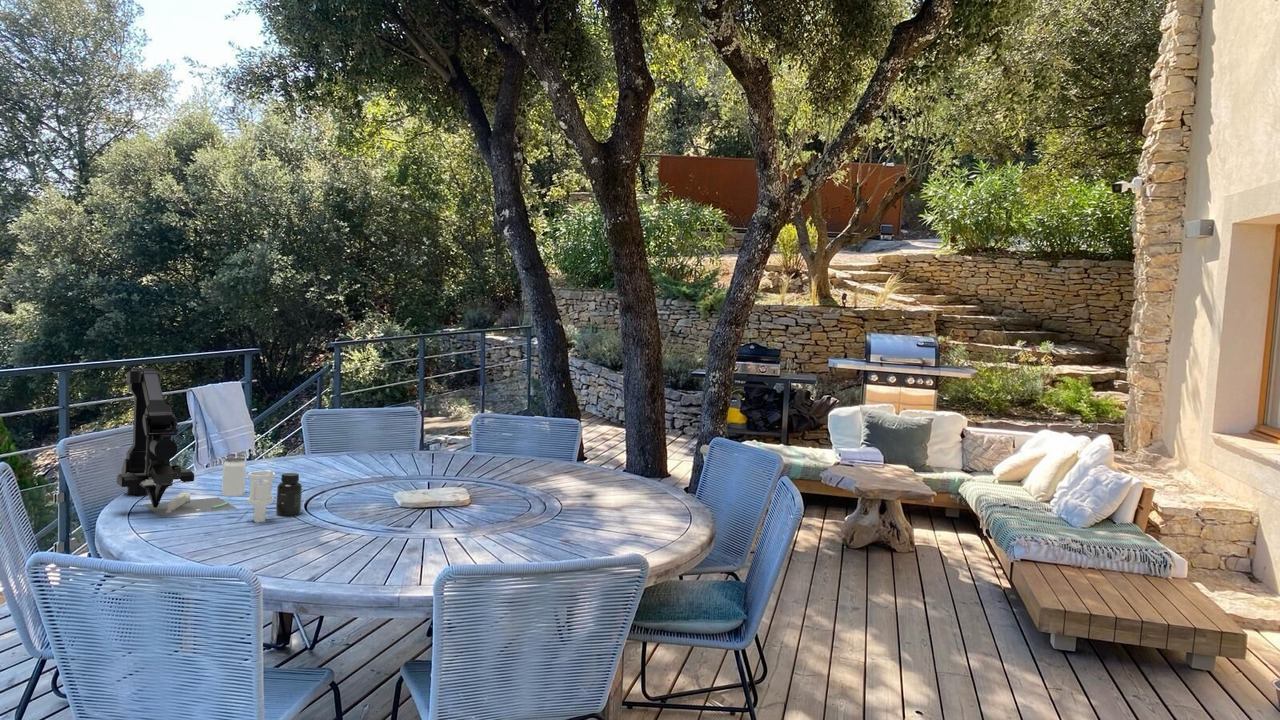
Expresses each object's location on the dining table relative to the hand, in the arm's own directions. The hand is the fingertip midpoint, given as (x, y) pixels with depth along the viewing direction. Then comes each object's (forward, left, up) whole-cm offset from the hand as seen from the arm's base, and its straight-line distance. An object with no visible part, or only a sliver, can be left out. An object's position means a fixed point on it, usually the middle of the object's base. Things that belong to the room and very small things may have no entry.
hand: (155, 507), depth 245 cm
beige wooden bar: (-3, +7, -1) cm, 8 cm away
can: (-12, +26, -2) cm, 28 cm away
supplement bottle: (+16, +32, -2) cm, 36 cm away
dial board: (-1, +10, -2) cm, 10 cm away
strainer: (+20, +22, -2) cm, 30 cm away
